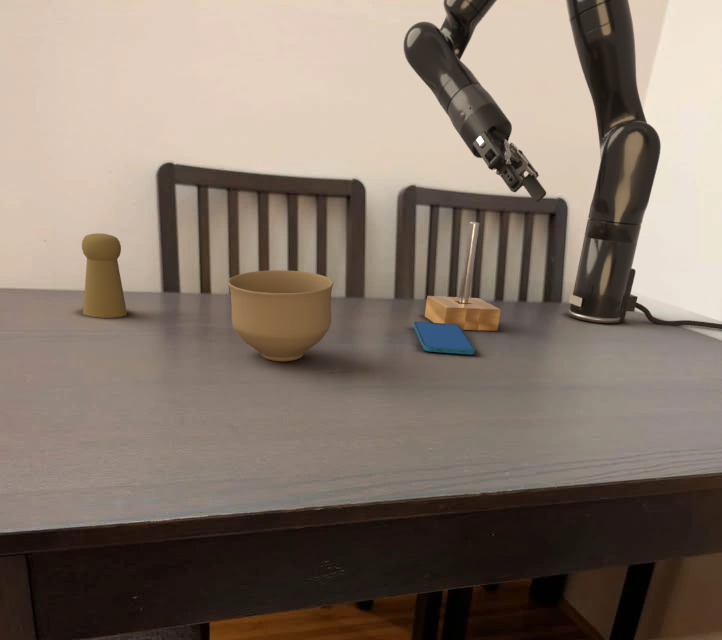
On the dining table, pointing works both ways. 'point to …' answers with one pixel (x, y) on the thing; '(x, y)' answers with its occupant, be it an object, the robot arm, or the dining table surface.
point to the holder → (463, 313)
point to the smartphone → (443, 338)
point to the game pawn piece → (103, 277)
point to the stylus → (468, 262)
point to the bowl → (281, 311)
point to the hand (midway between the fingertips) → (530, 193)
